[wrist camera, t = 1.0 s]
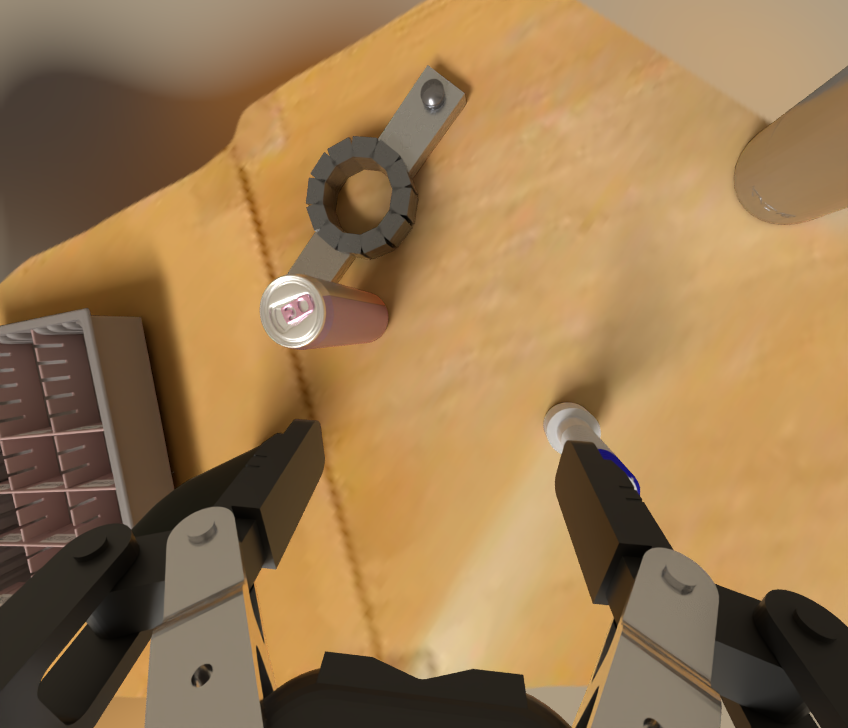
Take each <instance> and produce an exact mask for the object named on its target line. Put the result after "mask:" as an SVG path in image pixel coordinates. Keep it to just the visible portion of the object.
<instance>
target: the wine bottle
mask: <svg viewBox="0 0 848 728" xmlns="http://www.w3.org/2000/svg"><path fill="white" fill-rule="evenodd" d="M259 447H260V446H258V447H256V448H254V449H252V450H250V451H248V452H245V453H243V454H241V455H239V456H237V457H235V458H233V459H231V460H229V461H227V462H225V463H223V464H221V465H219V466H217V467H214V468H212V469H210V470H208V471H206V472H204V473H202V474H200V475H198V476H196V477H194V478H192V479H190V480H188V481H186V482H185V483H183V484H182V485H180V486H179V487H177V488H176V489H175V490H173V491H172V492H171V493H169V494H168V495H167V496H165V497H164V498H163V499H162V500H160V501H159V502H158V503H157V504H156V505H155V506H154V507H152V508H151V509H150V510H149V511H148V512H147V513H146V514H145V515H144V517H143V518H142V519H141V520H140V521H139V522H138V523H137V524H136V525H135V526H134V527H133V528H132V529H131V531H132V533H133V535H134V537H139V536H144V535H150V534H155V533H160V532H166V531H171V530H173V529H174V528H175V527H176V526H177V525H178V524H179V523H180V522H181V521H182V520H183V519H185V518H186V517H188V516H189V515H191V514H193V513H195V512H197V511H199V510H202V509H205V508H210V507H213V506H214V505H215V503H216V502H217V501H218V499H219V498H220V497H221V496H222V494H223V493H224V492H225V491H226V489H227V488H228V487H229V485H230V484H231V483H232V482H233V480H234V479H235V478H236V477H237V475H238V474H239V473H240V471H241V470H242V469H243V468H245V467H246V464H247V463H248V461H249V460H250V459H251V457H253V456H254V454H255V452H256V451H257V450H258V449H259Z"/></svg>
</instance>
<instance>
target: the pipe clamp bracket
mask: <svg viewBox="0 0 848 728" xmlns="http://www.w3.org/2000/svg"><path fill="white" fill-rule="evenodd" d="M465 105H466V98H465V93H464V92H462V91H461V90H460V89H458V88H457V87H456V86H455V85H453V84H452V83H451V82H449V81H448V80H447V79H445V78H444V77H443V76H441V75H440V74H439V73H438V72H436V71H435V70H434V69H432V68H431V67H430V66H428V65H427V67H426V68H425V70H424V71H423V73H422V74H421V76H420V77H419V79H418V80H417V82H416V83H415V85H414V86H413V88H412V89H411V91H410V92H409V94H408V95H407V97H406V98H405V100H404V101H403V103H402V104H401V106H400V107H399V109H398V110H397V112H396V113H395V114H394V116H393V117H392V119H391V120H390V122H389V123H388V125H387V126H386V128H385V129H384V131H383V132H382V134H381V135H380V137H379V138H378V139H377V138H372V137H358V136H353V140H351V139H350V138H349V137H348V138H346V139H345V140H343V141H341V142H339V143H337V144H336V145H334V146H332V147H330V148H328V149H327V150H328V152H329V155H330V156H329V155H327V154H326V153H325V152H324V153H323V155H322V156H321V158H320V159H319V161H318V163H317V164H316V166H315V167H314V169H313V170H312V172H311V175H312V176H314V177H315V178H309V182H308V190H307V198H306V204H308V205H309V206H308V207H306V208H307V211H308V214H309V217H310V219H311V222H312V225H313V228H314V231H316V232H315V233H314V235H313V236H312V238H311V239H310V241H309V242H308V244H307V245H306V247H305V248H304V250H303V251H302V253H301V254H300V256H299V257H298V259H297V260H296V262H295V263H294V265H293V266H292V268H291V269H290V271H289V272H288V274H287V275H295V274H304V275H308V276H312V277H315V278H319V279H323V280H326V281H330V282H333V283H338V282H339V280H340V279H341V277H342V276H343V275H344V273H345V272H346V270H347V269H348V268H349V266H350V265H351V263H352V262H353V261H354V259H355V258H363V259H370V260H371V258H373V259H376V258H378V257H380V256H382V255H385V254H387V253H389V252H391V251H394V250H395V249H394V246H393V244H394V245H395V246H397V247H399V245H400V244H401V243H402V241H403V240H404V239H405V237H406V236H407V235H408V233H409V232H410V231H411V229H412V227H411V226H410V224H414V222H415V216H416V210H417V204H418V198H417V195H418V194H417V191H416V188H415V185H414V182H413V177H414V176H415V174H416V173H417V172H418V170H419V169H420V168H421V166H422V165H423V163H424V162H425V161H426V159H427V158H428V156H429V155H430V154H431V152H432V151H433V149H434V148H435V147H436V145H437V144H438V142H439V141H440V140H441V138H442V137H443V136H444V134H445V133H446V131H447V130H448V129H449V127H450V126H451V124H452V123H453V122H454V120H455V119H456V117H457V116H458V115H459V113H460V112H461V110H462V109H463V108H464V106H465ZM362 170H375V171H382V172H383V173H384V174H385V175H386V176H388V178H389V181H390V183H391V186H392V189H393V190H392V196H391V203H390V209H389V211H388V213H387V214H386V216H385V217H384V218H383V220H382V221H381V223H380V224H379V225H378V227H376V228H374V229H372V230H370V231H367V232H365V233H363V234H361V235H358V234H350V233H346V232H345V231H344V230H343V229H341V226H340V223H339V220H338V217H337V214H336V204H337V196H338V192H339V191H340V189H341V188H342V186H343V185H344V183H345V182H346V180H347V179H348V178H349V177H351V176H353V175H354V174H356V173H358V172H360V171H362ZM409 223H410V224H409Z"/></svg>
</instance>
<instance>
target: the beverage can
mask: <svg viewBox="0 0 848 728" xmlns="http://www.w3.org/2000/svg"><path fill="white" fill-rule="evenodd" d="M260 317H261V322H262V325H263V327H264V329H265V331H266V332H267V334H268V335H269V336H270V338H271V339H273V340H274V341H275V342H276V343H278V344H280V345H282V346H284V347H289V348H293V349H299V350H304V349H314V348H323V347H333V346H342V345H352V344H362V343H370V342H373V341H375V340H377V339H378V338H379V337H381V336H382V334H383V333H384V332H385V330H386V327H387V324H388V311H387V308H386V306H385V304H384V302H383V301H382V300H381V299H380V298H379V297H378V296H376V295H375V294H373V293H370V292H366V291H362V290H359V289H355V288H352V287H348V286H344V285H341V284H337V283H333V282H330V281H326V280H323V279H319V278H315V277H312V276H308V275H304V274H295V275H284V276H281V277H279V278H277V279H275V280H274V281H272V282H271V283H270V284H269V285H268V287H267V288H266V290H265V291H264V293H263V296H262V298H261V302H260Z"/></svg>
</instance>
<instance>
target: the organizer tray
mask: <svg viewBox="0 0 848 728" xmlns="http://www.w3.org/2000/svg"><path fill="white" fill-rule="evenodd" d="M172 473H173V472H172ZM173 490H174V485H173V480H172V475H171V470H170V465H169V459H168V454H167V449H166V444H165V439H164V434H163V429H162V423H161V418H160V413H159V408H158V403H157V398H156V392H155V387H154V382H153V377H152V372H151V367H150V362H149V356H148V351H147V346H146V341H145V336H144V331H143V325H142V320H141V317H123V316H92V315H91V314H90V310H89V309H88V308H84V309H79V310H75V311H70V312H65V313H60V314H55V315H50V316H45V317H40V318H36V319H31V320H26V321H21V322H16V323H11V324H6V325H2V326H0V607H1V606H2V605H3V604H4V603H5V602H6V601H7V600H8V599H9V598H10V597H11V596H12V595H13V594H14V593H15V592H16V591H17V590H19V589H20V588H21V587H22V586H23V585H24V584H25V583H26V582H27V581H28V580H29V579H30V578H31V577H32V576H33V575H34V574H35V573H36V572H38V571H39V570H40V569H41V568H42V567H43V566H44V565H45V564H46V563H47V562H48V561H49V560H50V559H51V558H52V557H53V556H54V555H55V554H57V553H58V552H59V551H60V550H61V549H62V548H63V547H64V546H65V545H66V544H68V543H69V542H70V541H72V540H73V539H75V538H76V537H78V536H79V535H81V534H83V533H85V532H87V531H89V530H91V529H94V528H96V527H99V526H102V525H106V524H112V523H120V524H125V525H127V526H128V527H129V528H130V529H132V528H133V527H134V526H135V525H136V524H137V523H138V522H139V521H140V520H141V519H142V518H143V517H144V515H145V514H146V513H147V512H148V511H149V510H150V509H151V508H152V507H154V506H155V505H156V504H157V503H158V502H159V501H160V500H162V499H163V498H164V497H165V496H167V495H168V494H169V493H171V492H172V491H173Z"/></svg>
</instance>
